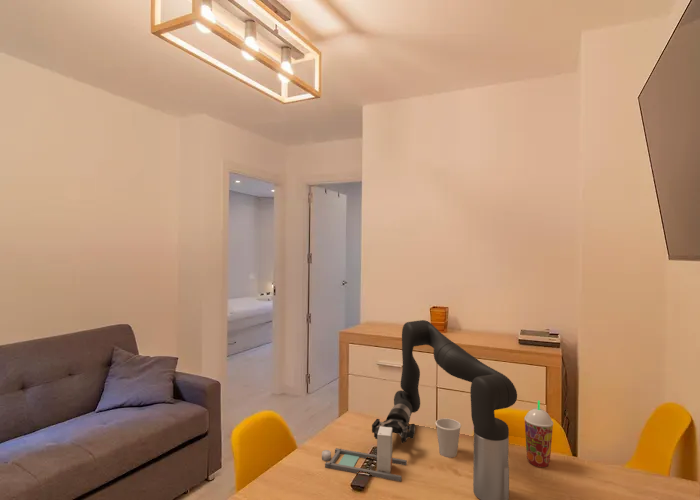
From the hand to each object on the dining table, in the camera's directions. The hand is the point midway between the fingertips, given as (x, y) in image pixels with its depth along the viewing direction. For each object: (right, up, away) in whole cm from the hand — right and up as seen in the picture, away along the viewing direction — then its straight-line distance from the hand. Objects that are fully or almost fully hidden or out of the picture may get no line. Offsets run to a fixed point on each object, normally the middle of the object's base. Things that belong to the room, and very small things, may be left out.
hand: (389, 438), depth 130 cm
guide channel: (-9, -7, -3) cm, 12 cm away
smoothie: (+48, -7, -1) cm, 48 cm away
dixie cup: (+20, -7, +4) cm, 22 cm away
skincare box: (-2, -7, -5) cm, 9 cm away
